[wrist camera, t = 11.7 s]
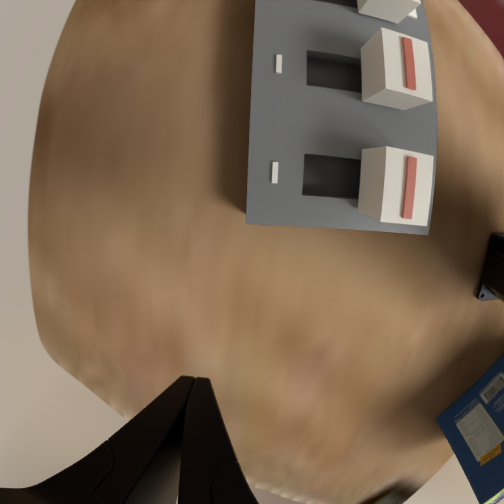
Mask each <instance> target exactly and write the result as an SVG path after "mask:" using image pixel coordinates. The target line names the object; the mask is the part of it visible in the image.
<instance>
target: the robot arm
mask: <svg viewBox="0 0 504 504" xmlns="http://www.w3.org/2000/svg"><path fill="white" fill-rule="evenodd" d="M494 239H495V240H494ZM477 299H478V300H480V301H485V300H497V299H500V300H501V301H503V302H504V234H497V233H493V234H492V235H491V237H490V242H489V247H488V252H487V257H486V261H485V266H484V270H483V274H482V278H481V281H480V285H479V289H478V292H477ZM177 496H178V504H259V503H258V502H257V500H256V498H255V496H254V495H253V493H252V491H251V489H250V488H249V485H248V483H247V481H246V479H245V477H244V474H243V472H242V470H241V467H240V464H239V462H238V460H237V457H236V454H235V452H234V449H233V446H232V444H231V441H230V438H229V435H228V432H227V430H226V427H225V424H224V421H223V418H222V415H221V412H220V409H219V406H218V403H217V400H216V397H215V394H214V391H213V388H212V384H211V381H210V379H209V378H204V377H196V378H195V377H193V376H184V375H183V376H180V377H179V378H178V379H177V380H176V381H175V382H173V383H172V384H171V385H170V386H169V387H168V388H167V389H166V390H165V391H163V392H162V393H161V394H160V395H159V396H158V397H157V398H155V399H154V400H153V401H152V402H151V403H150V404H149V405H147V406H146V407H145V408H144V409H143V410H142V411H140V412H139V413H138V414H137V415H136V416H135V417H133V418H132V419H131V420H130V421H129V422H128V423H126V424H125V425H124V426H123V427H122V428H120V430H118V431H117V432H116V433H115V434H113V435H112V436H111V437H110V438H108V440H106V441H105V442H104V443H102V444H101V445H100V446H99V447H97V448H96V449H95V450H94V451H92V452H91V453H89V454H88V455H87V456H85V457H84V458H82V459H81V460H79V461H78V462H76V463H74V464H73V465H71V466H70V467H68V468H66V469H64V470H63V471H61V472H59V473H57V474H56V475H54V476H52V477H50V478H48V479H46V480H45V481H43V482H41V483H39V484H37V485H34V486H31V487H27V488H0V504H176V500H177Z"/></svg>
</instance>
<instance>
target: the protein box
mask: <svg viewBox="0 0 504 504" xmlns="http://www.w3.org/2000/svg"><path fill="white" fill-rule="evenodd" d="M436 421H437V423H438V425H439V426H440V428H441V430H442V432H443V433H444V435H445V437H446V439H447V441H448V442H449V444H450V446H451V448H452V450H453V452H454V453H455V455H456V457H457V459H458V461H459V463H460V465H461V467H462V469H463V471H464V473H465V475H466V477H467V479H468V481H469V483H470V485H471V487H472V489H473V491H474V493H475V495H476V497H477V500H478V501H479V504H496V503H498V502H499V501H500V500H501V499H503V498H504V353H503V355H502V356H501V357H500V358H499V359H498V360H497V361H496V363H495V364H494V365H493V366H492V367H491V368H490V369H489V370H488V371H487V372H486V373H485V374H484V375H483V376H482V377H481V378H480V379H479V380H478V381H477V382H476V383H475V384H474V385H473V386H472V387H471V388H470V389H469V390H468V391H467V392H466V393H465V394H464V395H463V396H462V397H460V398H459V399H458V400H457V401H456V402H455V403H454V404H453V405H452V406H450V407H449V408H448V409H447V410H446V411H444V412H443V413H442V414H441V415H440V416H438V417H437V418H436Z"/></svg>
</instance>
